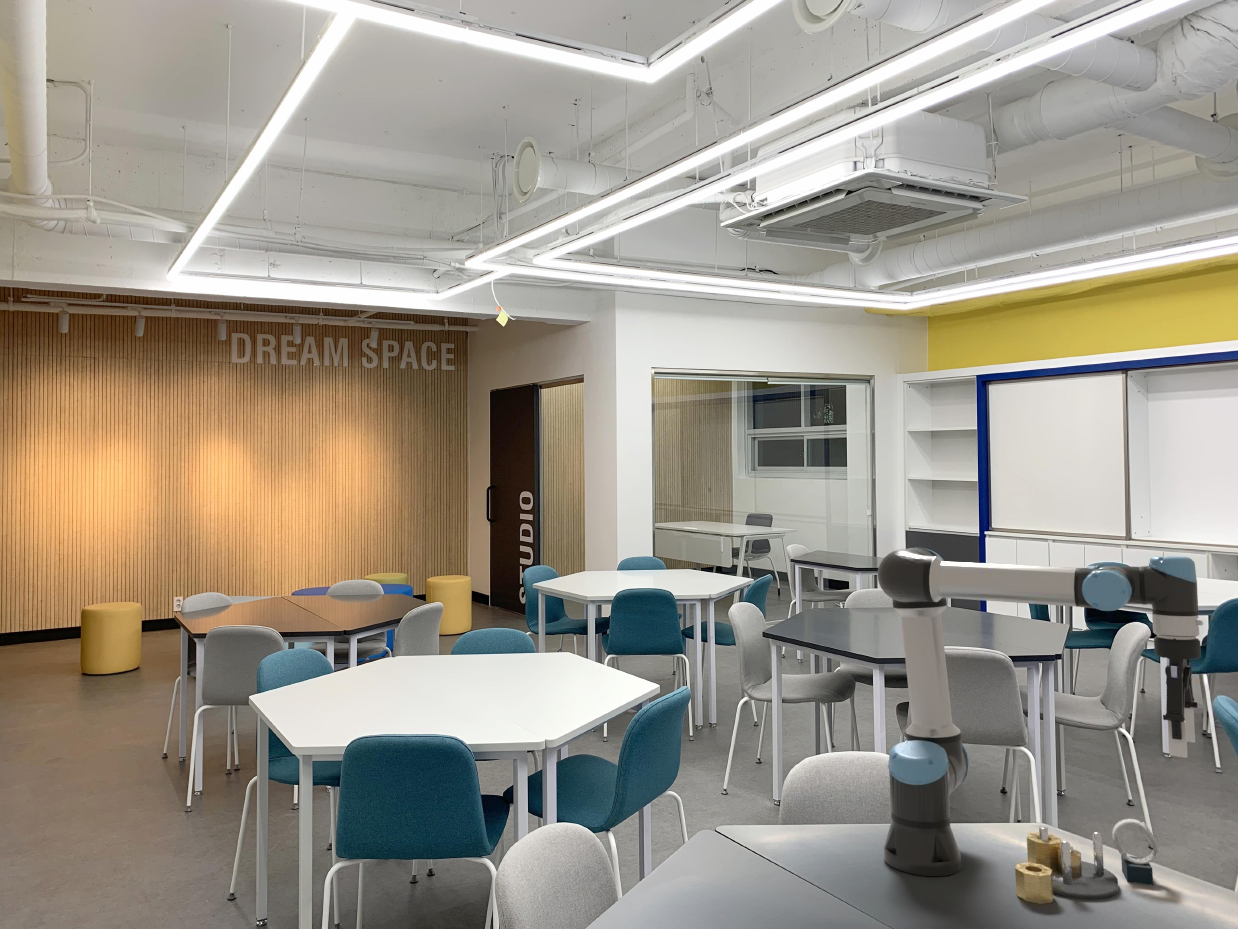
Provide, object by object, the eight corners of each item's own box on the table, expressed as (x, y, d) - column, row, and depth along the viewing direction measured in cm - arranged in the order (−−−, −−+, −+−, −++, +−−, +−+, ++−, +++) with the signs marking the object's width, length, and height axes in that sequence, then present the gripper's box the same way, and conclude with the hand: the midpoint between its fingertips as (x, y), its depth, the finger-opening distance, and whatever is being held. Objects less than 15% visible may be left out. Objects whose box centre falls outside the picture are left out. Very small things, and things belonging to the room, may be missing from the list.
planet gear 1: (1026, 865, 170) (1025, 840, 170) (1030, 855, 175) (1029, 830, 175) (1060, 871, 167) (1058, 845, 167) (1063, 861, 172) (1062, 836, 172)
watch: (1165, 886, 163) (1161, 827, 164) (1117, 881, 166) (1113, 823, 166) (1158, 875, 168) (1154, 818, 169) (1111, 870, 171) (1108, 814, 172)
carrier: (1020, 887, 163) (1017, 837, 164) (1031, 859, 177) (1029, 813, 178) (1115, 906, 155) (1112, 853, 155) (1120, 875, 168) (1117, 827, 169)
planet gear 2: (1015, 899, 158) (1013, 871, 159) (1020, 887, 163) (1018, 860, 164) (1051, 906, 155) (1049, 878, 156) (1054, 894, 160) (1053, 866, 161)
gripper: (1192, 645, 152) (1199, 766, 151) (1206, 631, 171) (1212, 738, 170) (1144, 642, 157) (1150, 759, 155) (1162, 628, 176) (1168, 732, 175)
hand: (1182, 748), depth 163 cm, fingers open, 13 cm apart
